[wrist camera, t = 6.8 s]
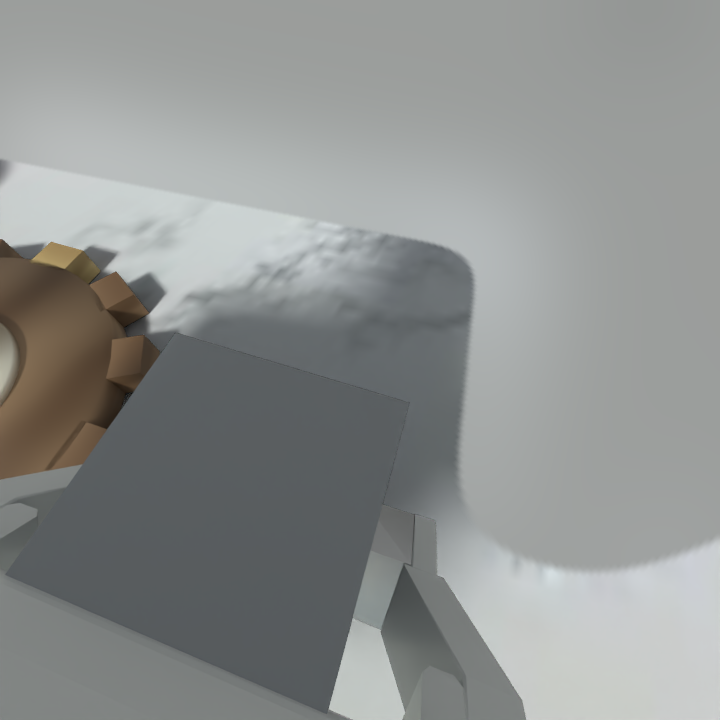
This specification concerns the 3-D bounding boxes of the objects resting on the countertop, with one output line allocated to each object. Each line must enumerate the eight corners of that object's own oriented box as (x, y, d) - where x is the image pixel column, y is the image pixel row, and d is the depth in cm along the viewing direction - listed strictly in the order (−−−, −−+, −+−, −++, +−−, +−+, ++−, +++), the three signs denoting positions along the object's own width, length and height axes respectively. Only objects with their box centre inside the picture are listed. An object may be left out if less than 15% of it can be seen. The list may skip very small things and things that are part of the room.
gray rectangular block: (372, 497, 14) (409, 402, 5) (339, 614, 12) (312, 771, 3) (280, 466, 14) (175, 332, 6) (235, 573, 13) (-26, 617, 4)
